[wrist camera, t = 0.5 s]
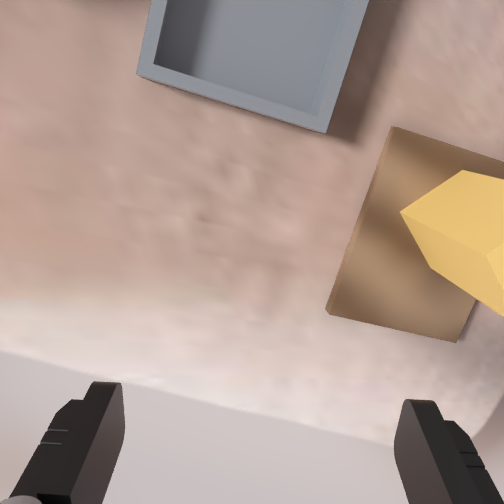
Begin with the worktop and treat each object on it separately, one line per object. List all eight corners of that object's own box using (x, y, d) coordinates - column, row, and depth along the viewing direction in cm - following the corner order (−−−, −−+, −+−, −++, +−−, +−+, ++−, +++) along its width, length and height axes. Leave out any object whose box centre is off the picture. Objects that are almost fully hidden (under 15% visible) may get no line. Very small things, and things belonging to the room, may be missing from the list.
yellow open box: (430, 268, 34) (522, 329, 25) (399, 211, 33) (485, 255, 23) (509, 216, 34) (633, 259, 24) (482, 156, 32) (604, 178, 23)
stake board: (391, 126, 32) (481, 136, 22) (524, 170, 34) (658, 196, 24) (325, 308, 35) (377, 386, 26) (449, 336, 38) (540, 418, 28)
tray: (186, -136, 26) (186, -165, 23) (373, -58, 28) (394, -76, 25) (141, 77, 29) (135, 74, 26) (313, 130, 31) (325, 133, 28)
